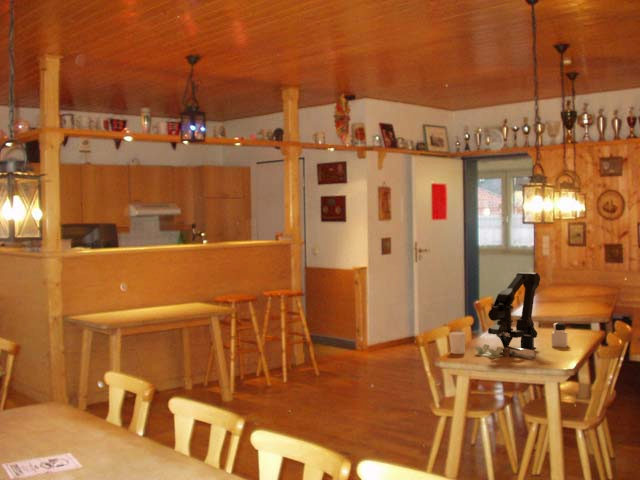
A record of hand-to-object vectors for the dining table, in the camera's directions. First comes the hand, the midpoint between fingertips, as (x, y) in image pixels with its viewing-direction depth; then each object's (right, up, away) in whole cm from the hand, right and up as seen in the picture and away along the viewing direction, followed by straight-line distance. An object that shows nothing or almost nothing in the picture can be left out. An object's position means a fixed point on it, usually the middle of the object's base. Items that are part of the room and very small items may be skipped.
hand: (505, 349), depth 380 cm
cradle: (-9, -3, -2) cm, 10 cm away
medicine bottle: (+33, -1, +18) cm, 37 cm away
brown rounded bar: (+5, -3, -7) cm, 9 cm away
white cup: (-23, -3, +7) cm, 24 cm away
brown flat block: (0, -2, 0) cm, 2 cm away
